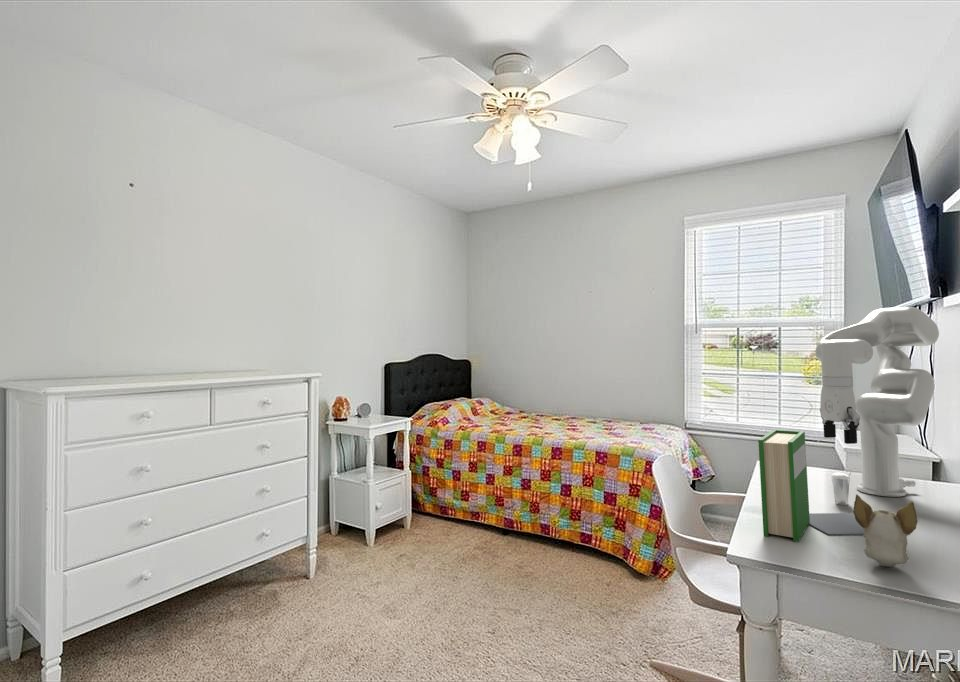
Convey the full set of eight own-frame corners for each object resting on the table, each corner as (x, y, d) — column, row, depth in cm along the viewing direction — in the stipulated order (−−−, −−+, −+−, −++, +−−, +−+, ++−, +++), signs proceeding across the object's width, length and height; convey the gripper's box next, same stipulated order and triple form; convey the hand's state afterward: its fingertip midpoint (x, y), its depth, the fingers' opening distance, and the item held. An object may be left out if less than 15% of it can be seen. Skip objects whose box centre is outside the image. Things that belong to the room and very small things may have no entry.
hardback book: (798, 542, 124) (792, 442, 124) (763, 536, 129) (758, 439, 129) (809, 521, 137) (804, 431, 138) (778, 516, 142) (773, 429, 143)
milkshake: (857, 506, 151) (855, 472, 151) (836, 505, 152) (835, 471, 152) (849, 501, 155) (848, 468, 156) (829, 501, 156) (828, 468, 157)
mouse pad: (863, 514, 144) (863, 512, 144) (910, 534, 128) (910, 532, 128) (791, 515, 144) (790, 513, 144) (828, 535, 128) (828, 533, 128)
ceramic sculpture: (918, 566, 109) (915, 495, 110) (920, 581, 103) (917, 505, 103) (856, 555, 116) (853, 488, 116) (854, 568, 109) (852, 497, 109)
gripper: (807, 380, 161) (810, 435, 161) (842, 385, 144) (845, 446, 144) (832, 380, 161) (835, 434, 161) (870, 384, 144) (873, 445, 144)
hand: (840, 440), depth 152 cm, fingers open, 9 cm apart
